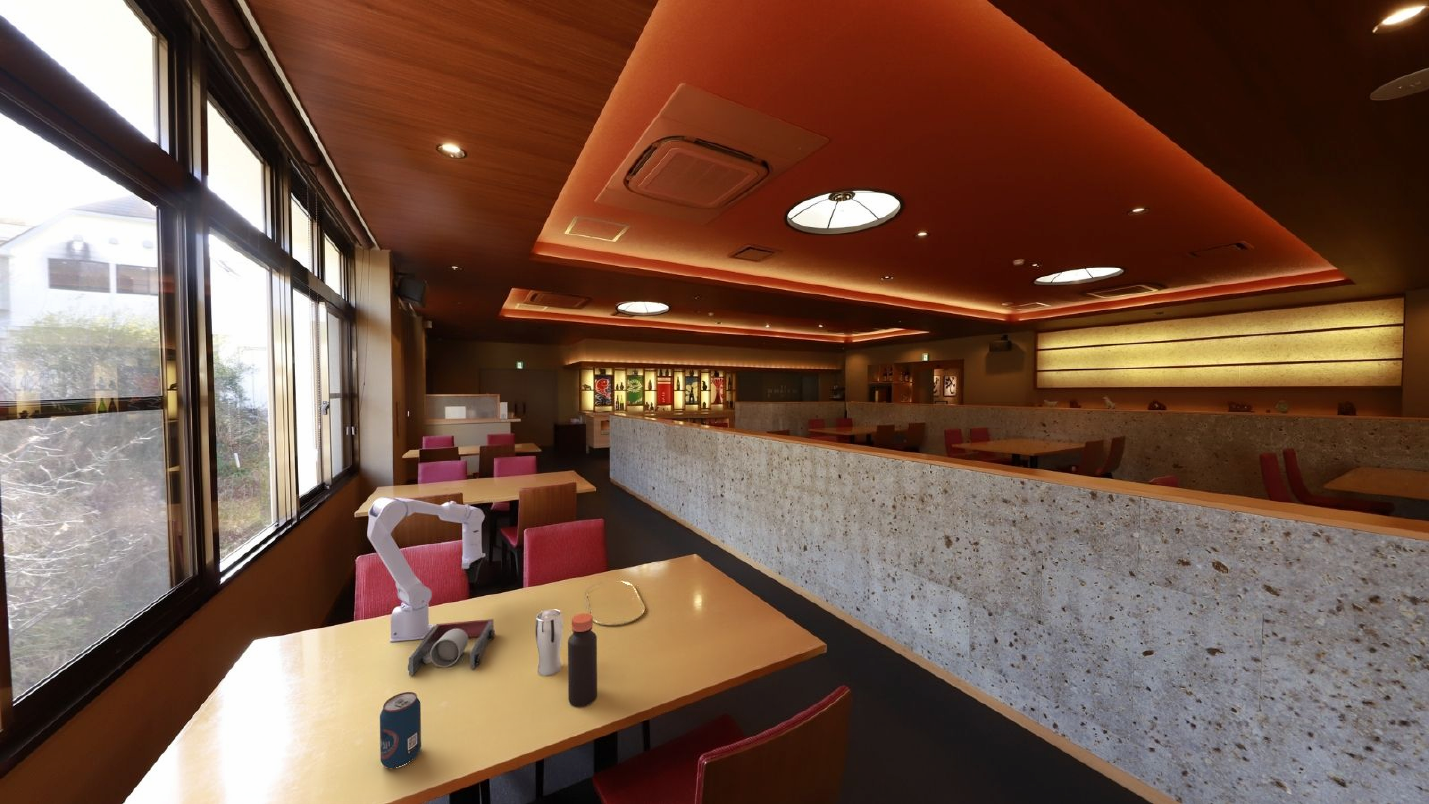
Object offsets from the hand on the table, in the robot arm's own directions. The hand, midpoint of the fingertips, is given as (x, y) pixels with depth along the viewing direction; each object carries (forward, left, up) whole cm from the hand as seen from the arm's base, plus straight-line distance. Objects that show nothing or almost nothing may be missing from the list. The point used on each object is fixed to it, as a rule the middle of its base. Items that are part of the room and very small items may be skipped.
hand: (472, 581), depth 157 cm
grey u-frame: (+3, -26, -10) cm, 28 cm away
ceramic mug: (+2, -29, -11) cm, 31 cm away
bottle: (+41, -53, -11) cm, 68 cm away
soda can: (+6, -65, -11) cm, 66 cm away
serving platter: (+47, -2, -11) cm, 48 cm away
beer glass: (+31, -39, -11) cm, 51 cm away
